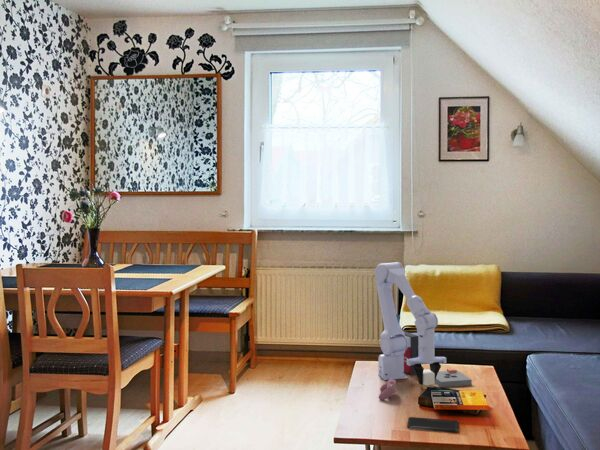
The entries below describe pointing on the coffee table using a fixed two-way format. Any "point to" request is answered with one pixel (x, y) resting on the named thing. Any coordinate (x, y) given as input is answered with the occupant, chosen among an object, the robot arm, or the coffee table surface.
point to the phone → (433, 424)
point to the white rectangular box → (428, 378)
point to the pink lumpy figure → (387, 389)
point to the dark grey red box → (410, 352)
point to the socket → (452, 378)
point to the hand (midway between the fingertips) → (426, 383)
